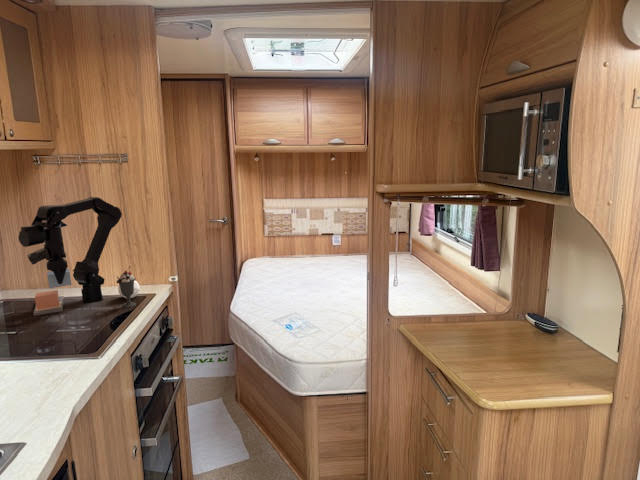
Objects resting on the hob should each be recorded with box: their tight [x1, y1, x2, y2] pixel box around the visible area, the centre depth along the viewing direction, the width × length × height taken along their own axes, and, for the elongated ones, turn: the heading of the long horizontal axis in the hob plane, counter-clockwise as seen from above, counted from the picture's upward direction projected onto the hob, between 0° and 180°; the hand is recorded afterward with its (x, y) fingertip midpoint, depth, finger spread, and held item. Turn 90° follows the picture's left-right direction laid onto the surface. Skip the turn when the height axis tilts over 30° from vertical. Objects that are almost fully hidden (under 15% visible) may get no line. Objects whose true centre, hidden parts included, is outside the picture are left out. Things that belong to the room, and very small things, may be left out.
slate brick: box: [46, 268, 72, 289], centre depth 162 cm, size 7×5×5 cm, turn 120°
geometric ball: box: [117, 280, 140, 299], centre depth 176 cm, size 8×8×8 cm
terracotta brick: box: [34, 289, 60, 310], centre depth 166 cm, size 7×5×5 cm, turn 117°
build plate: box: [33, 295, 65, 317], centre depth 169 cm, size 9×16×1 cm, turn 27°
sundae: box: [116, 265, 137, 309], centre depth 167 cm, size 7×7×15 cm
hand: (60, 282), depth 162 cm, fingers closed on slate brick, 5 cm apart
